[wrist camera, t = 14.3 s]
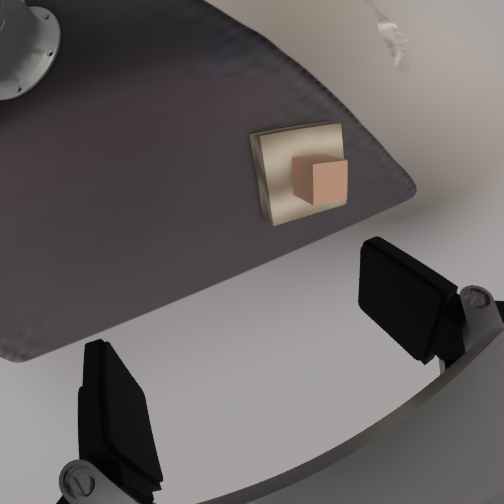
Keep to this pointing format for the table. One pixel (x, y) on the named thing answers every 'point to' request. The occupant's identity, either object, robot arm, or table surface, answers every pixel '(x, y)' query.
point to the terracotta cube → (319, 178)
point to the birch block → (290, 167)
